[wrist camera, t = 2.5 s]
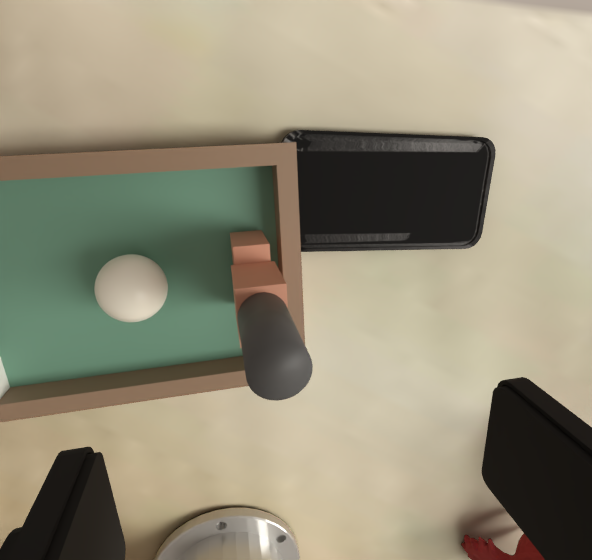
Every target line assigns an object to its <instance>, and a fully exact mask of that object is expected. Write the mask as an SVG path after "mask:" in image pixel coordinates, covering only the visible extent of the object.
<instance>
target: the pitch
mask: <svg viewBox="0 0 592 560" xmlns="http://www.w3.org/2000/svg"><path fill="white" fill-rule="evenodd" d="M255 230H262V232H263V234H264V235H265V237H266V239H267V240H268V242H269V244H270V258H271V261H275V263H276V265H277V267H278V269H279V271H280V272H281V274H282V276H283V278H284V280H285V282H286V283H287V300H288V310H289V312H290V315H291V317H292V319H293V321H294V323H295V325H296V327H297V330H298V332H299V334H300V336H301V338H302V340H303V342H304V345H305V335H304V312H303V289H302V265H301V242H300V219H299V196H298V172H297V149H296V142H290V143H269V144H248V145H227V146H206V147H185V148H163V149H142V150H121V151H100V152H79V153H58V154H37V155H16V156H0V422H6V421H12V420H19V419H26V418H33V417H40V416H46V415H53V414H60V413H67V412H73V411H80V410H87V409H94V408H101V407H107V406H114V405H121V404H128V403H134V402H141V401H148V400H155V399H162V398H168V397H175V396H182V395H189V394H196V393H202V392H209V391H216V390H223V389H229V388H236V387H243V386H249V385H248V383H247V380H246V375H245V368H244V361H243V354H242V348H240V342H239V335H238V327H237V320H236V312H235V302H234V292H233V282H232V272H231V265H233V260H232V250H231V240H230V233H231V232H243V231H255ZM127 254H136V255H141V256H144V257H147V258H149V259H151V260H153V261H154V262H155V263H157V264H158V265H159V266H160V268H161V269H162V270H163V272H164V274H165V276H166V279H167V283H168V293H167V297H166V300H165V302H164V304H163V306H162V307H161V309H160V310H159V311H158V312H157V313H156V314H154V315H153V316H152V317H150V318H148V319H146V320H143V321H139V322H123V321H119V320H116V319H114V318H112V317H110V316H109V315H108V314H106V313H105V312H104V311H103V310H102V309H101V307H100V306H99V304H98V302H97V300H96V296H95V291H94V286H95V280H96V277H97V275H98V273H99V271H100V270H101V268H102V267H103V266H104V265H105V264H106V263H108V262H109V261H110V260H112V259H114V258H116V257H118V256H122V255H127Z"/></svg>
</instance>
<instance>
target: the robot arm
mask: <svg viewBox="0 0 592 560" xmlns="http://www.w3.org/2000/svg"><path fill="white" fill-rule="evenodd" d="M482 476H483V479H484V481H485V484H486V485H487V487H488V488H489V489H490V490H491V492H492V493H493V494H494V496H495V497H496V498H497V499H498V501H499V502H500V503H501V504H502V506H503V507H504V508H505V510H506V511H507V512H508V513H509V515H510V516H511V517H512V518H513V520H514V521H515V522H516V523H517V525H518V526H519V527H520V529H521V530H522V531H523V532H524V534H525V535H526V536H527V537H528V539H529V540H530V541H531V543H532V544H533V545H534V546H535V548H536V549H537V550H538V551H539V553H540V554H541V555H542V557H543V558H544V559H545V560H592V427H590V426H589V425H588V424H586V423H585V422H584V421H582V420H581V419H580V418H579V417H577V416H576V415H575V414H573V413H572V412H571V411H569V410H568V409H567V408H565V407H564V406H563V405H562V404H560V403H559V402H558V401H556V400H555V399H554V398H552V397H551V396H550V395H548V394H547V393H546V392H545V391H543V390H542V389H541V388H539V387H538V386H537V385H535V384H534V383H533V382H531V381H530V380H529V379H527V378H523V377H521V378H515V379H509V380H503V381H500V383H499V384H498V387H497V388H495V389H494V391H493V396H492V403H491V410H490V417H489V423H488V430H487V437H486V444H485V451H484V458H483V465H482ZM0 560H125V541H124V536H123V533H122V529H121V525H120V521H119V517H118V513H117V509H116V505H115V501H114V497H113V493H112V489H111V486H110V482H109V478H108V474H107V470H106V466H105V462H104V458H103V455H102V453H101V452H98V453H94V451H93V449H92V448H91V447H84V448H78V449H72V450H65V451H61V452H60V453H59V454H58V456H57V457H56V459H55V461H54V463H53V465H52V467H51V469H50V471H49V473H48V476H47V478H46V480H45V482H44V484H43V486H42V488H41V490H40V492H39V494H38V496H37V498H36V500H35V502H34V504H33V506H32V508H31V510H30V512H29V514H28V516H27V518H26V520H25V522H24V524H23V526H22V527H21V528H16V529H14V530H13V531H12V532H11V533H10V534H9V535H8V536H7V538H6V540H5V541H4V543H3V545H2V547H1V549H0ZM154 560H300V555H299V550H298V544H297V541H296V538H295V535H294V534H293V532H292V531H291V529H290V528H289V526H288V525H287V524H286V523H284V522H283V521H282V520H281V519H279V518H278V517H276V516H274V515H272V514H271V513H268V512H265V511H261V510H258V509H251V508H226V509H220V510H215V511H212V512H209V513H206V514H202V515H200V516H198V517H196V518H194V519H192V520H190V521H188V522H186V523H185V524H183V525H182V526H180V527H179V528H177V529H176V530H175V531H174V532H173V533H172V534H171V535H170V536H169V537H168V538H167V539H166V540H165V541H164V543H163V544H162V545H161V547H160V548H159V550H158V552H157V554H156V557H155V559H154Z"/></svg>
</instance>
